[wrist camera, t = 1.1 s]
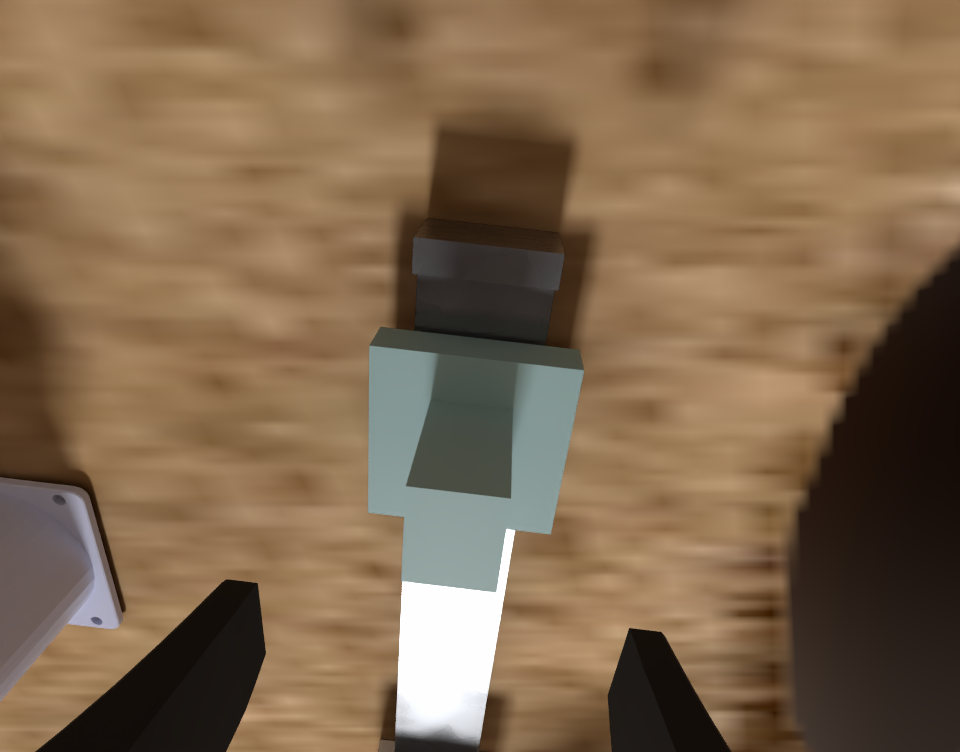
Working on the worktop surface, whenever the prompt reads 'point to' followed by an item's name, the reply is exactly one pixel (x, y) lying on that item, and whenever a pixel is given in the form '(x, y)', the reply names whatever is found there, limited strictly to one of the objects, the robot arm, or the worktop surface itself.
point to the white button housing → (386, 746)
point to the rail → (476, 614)
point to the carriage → (466, 446)
